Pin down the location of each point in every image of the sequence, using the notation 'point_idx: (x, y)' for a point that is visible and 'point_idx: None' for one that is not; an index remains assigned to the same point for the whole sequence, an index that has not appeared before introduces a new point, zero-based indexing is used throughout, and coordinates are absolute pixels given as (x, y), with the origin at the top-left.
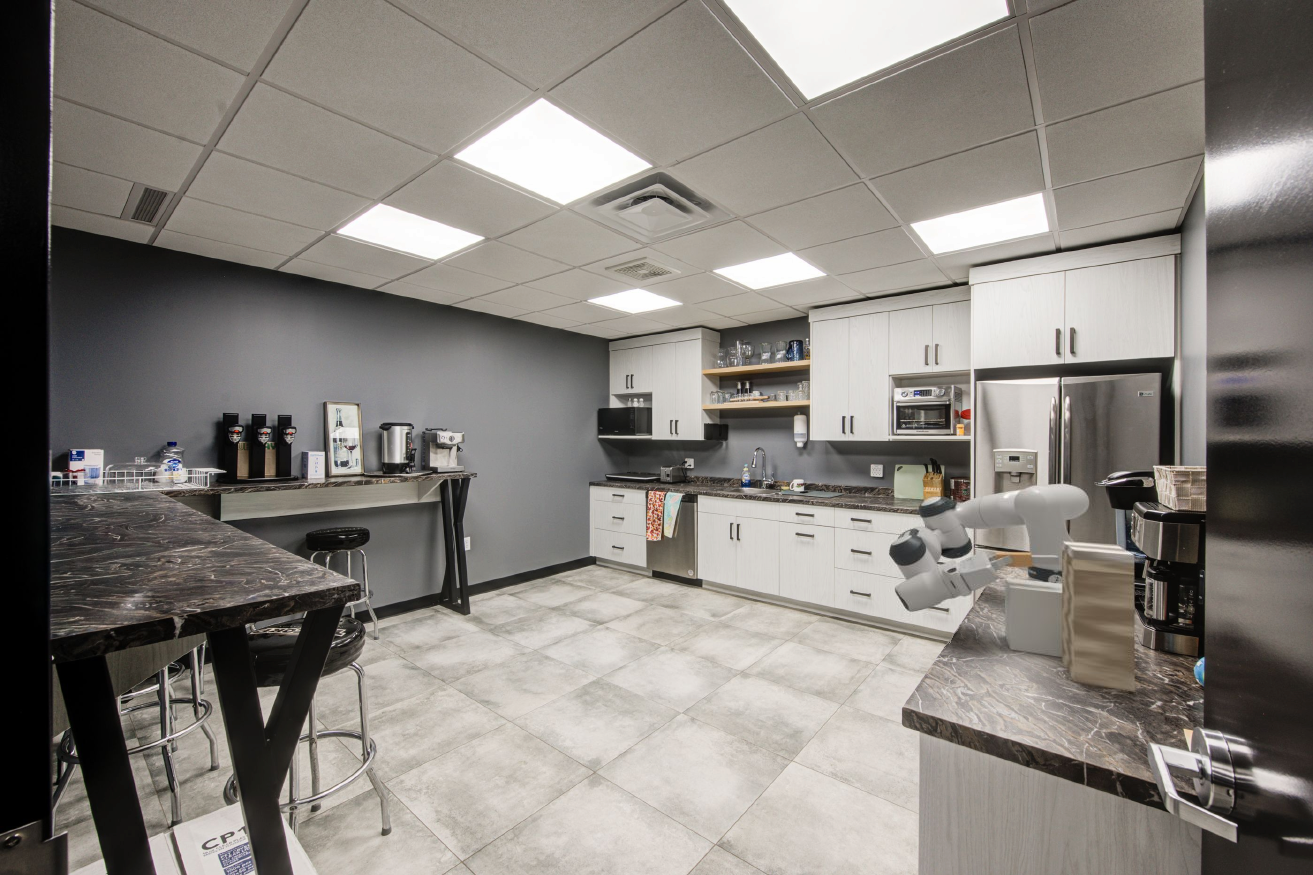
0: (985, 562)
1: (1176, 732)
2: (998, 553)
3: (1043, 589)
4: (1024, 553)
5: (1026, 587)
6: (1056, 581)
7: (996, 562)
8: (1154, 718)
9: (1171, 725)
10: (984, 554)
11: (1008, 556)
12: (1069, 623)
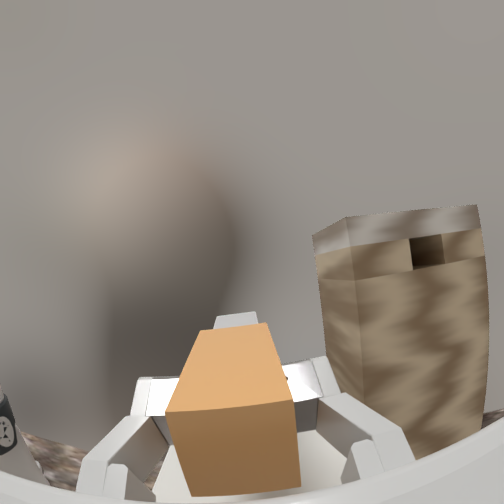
0: (474, 466)
1: (501, 410)
2: (236, 395)
3: (307, 441)
4: (229, 334)
5: (318, 473)
6: (5, 432)
7: (396, 432)
8: (488, 425)
9: (489, 416)
10: (21, 487)
11: (327, 359)
12: (444, 425)
